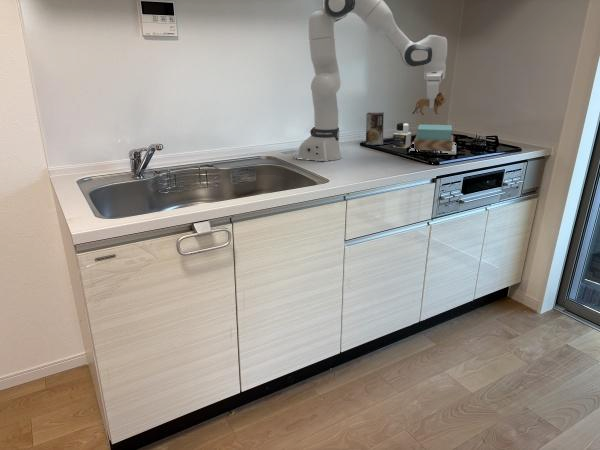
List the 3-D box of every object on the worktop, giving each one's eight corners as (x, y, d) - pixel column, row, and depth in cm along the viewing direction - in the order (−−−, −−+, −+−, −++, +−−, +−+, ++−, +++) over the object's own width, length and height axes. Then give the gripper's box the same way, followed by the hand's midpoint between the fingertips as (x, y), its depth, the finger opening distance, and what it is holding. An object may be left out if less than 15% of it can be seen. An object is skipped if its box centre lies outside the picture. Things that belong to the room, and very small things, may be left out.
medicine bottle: (392, 147, 231) (393, 123, 226) (397, 144, 236) (399, 121, 232) (405, 148, 227) (406, 124, 222) (410, 145, 232) (412, 122, 228)
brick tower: (408, 152, 219) (410, 130, 214) (412, 143, 238) (414, 123, 234) (455, 154, 212) (458, 131, 208) (456, 145, 231) (458, 124, 227)
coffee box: (383, 142, 242) (384, 112, 236) (382, 144, 236) (383, 114, 230) (366, 142, 244) (367, 112, 238) (365, 144, 238) (366, 113, 232)
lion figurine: (444, 110, 201) (445, 90, 197) (446, 113, 197) (447, 93, 192) (411, 113, 204) (411, 93, 199) (412, 116, 199) (412, 96, 195)
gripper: (428, 73, 203) (426, 104, 208) (425, 76, 185) (422, 110, 190) (443, 73, 201) (440, 104, 206) (441, 76, 183) (438, 110, 188)
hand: (431, 107), depth 198 cm, fingers closed on lion figurine, 4 cm apart
